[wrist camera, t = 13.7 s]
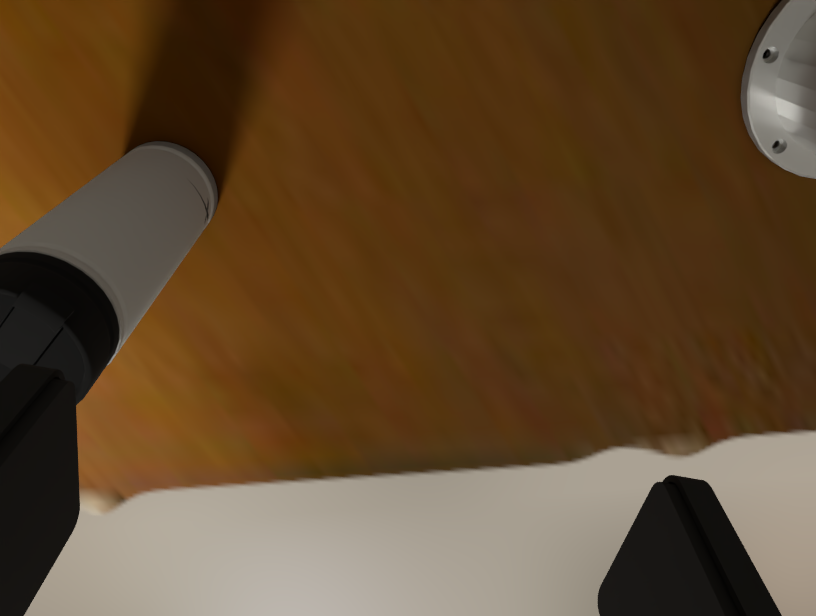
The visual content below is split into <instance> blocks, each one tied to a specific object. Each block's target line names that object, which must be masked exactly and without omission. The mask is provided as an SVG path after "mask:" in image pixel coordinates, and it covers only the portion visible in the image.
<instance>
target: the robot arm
mask: <svg viewBox="0 0 816 616" xmlns="http://www.w3.org/2000/svg"><path fill="white" fill-rule="evenodd" d="M766 49H767V54H766V55H765V56H764V57H763V53H764V52H765V50H766ZM741 105H742V114H743V119H744V122H745V125H746V128H747V131H748V133H749V136H750V137H751V139H752V140H753V142H754V143H755V145H756V147H757V148H758V150H760V151H761V152H762V153H763V154H764V155H765V156H766V157H767V158H768V159H769V160H770V161H772V162H773V163H775V164H777V165H778V166H780V167H781V168H783V169H785V170H787V171H790V172H792V173H794V174H797V175H799V176H803V177H808V178H814V179H816V0H782V1H781V2H780V3H779V4H778V6H777V7H776V8H775V9H774V10H773V11H772V13H771V14H770V15H769V17H768V19H767V20H766V22H765V23H764V25H763V26H762V28H761V30H760V31H759V33H758V34H757V37H756V39H755V41H754V43H753V46H752V48H751V50H750V52H749V55H748V58H747V62H746V65H745V69H744V73H743V77H742V88H741ZM775 142H776V143H775ZM774 143H775V144H774ZM773 144H774V145H773ZM772 145H773V146H772ZM79 510H80V500H79V473H78V447H77V420H76V394H75V385H74V383H73V382H71V381H65V377H64V374H63V372H62V371H61V370H58V369H52V368H46V367H41V366H35V365H29V364H23V363H22V364H18V365H17V366H16V367H15V368H13V369H12V370H11V372H10V373H9V374H8V375H7V376H6V377H5V378H4V379H3V380H2V381H1V382H0V616H24V614H25V612H26V611H27V609H28V607H29V606H30V604H31V602H32V600H33V599H34V597H35V595H36V594H37V592H38V590H39V589H40V587H41V585H42V583H43V582H44V580H45V578H46V576H47V575H48V573H49V571H50V569H51V568H52V566H53V565H54V563H55V561H56V559H57V558H58V556H59V554H60V552H61V551H62V549H63V547H64V546H65V544H66V542H67V541H68V539H69V537H70V535H71V534H72V532H73V530H74V528H75V525H76V523H77V519H78V515H79ZM598 609H599V614H600V616H782V615H781V613H780V612H779V610H778V608H777V606H776V604H775V603H774V601H773V599H772V597H771V596H770V593H769V592H768V590H767V588H766V586H765V584H764V583H763V581H762V579H761V577H760V575H759V573H758V572H757V570H756V568H755V566H754V564H753V563H752V561H751V559H750V557H749V555H748V554H747V552H746V550H745V548H744V546H743V544H742V542H741V541H740V539H739V537H738V536H737V533H736V532H735V530H734V528H733V526H732V524H731V523H730V521H729V519H728V517H727V515H726V513H725V512H724V510H723V508H722V506H721V504H720V502H719V501H718V499H717V497H716V495H715V493H714V491H713V490H712V488H711V487H710V485H709V484H708V483H707V482H705V481H704V480H698V479H691V478H686V477H681V476H675V475H670V476H668V477H666V478H665V479H664V480H663V482H657V483H655V484H654V485H653V487H652V488H651V490H650V492H649V494H648V496H647V498H646V500H645V502H644V504H643V506H642V508H641V509H640V511H639V513H638V515H637V518H636V519H635V521H634V523H633V525H632V527H631V529H630V531H629V532H628V534H627V536H626V538H625V540H624V542H623V544H622V546H621V548H620V550H619V552H618V554H617V556H616V558H615V560H614V561H613V563H612V565H611V567H610V569H609V571H608V573H607V575H606V577H605V579H604V580H603V582H602V584H601V587H600V589H599V593H598Z"/></svg>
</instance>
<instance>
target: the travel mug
mask: <svg viewBox="0 0 816 616" xmlns="http://www.w3.org/2000/svg"><path fill="white" fill-rule="evenodd" d="M217 201H218V193H217V186H216V183H215V179H214V177H213V175H212V173H211V171H210V170H209V168H208V167H207V166H206V164H205V163H204V162H203V161H202V160H201V159H200V158H199V157H198V156H197V155H196V154H194V153H193V152H191V151H190V150H188V149H187V148H184V147H182V146H180V145H178V144H174V143H170V142H162V141H155V142H148V143H145V144H142V145H139V146H137V147H136V148H134V149H133V150H131V151H130V152H128V153H127V154H126V155H124V156H123V157H122V158H120V159H119V160H118V161H116V162H115V163H114V164H112V165H111V166H110V167H108V168H107V169H106V170H104V171H103V172H102V173H100V174H99V175H98V176H96V177H95V178H94V179H92V180H91V181H90V182H88V183H87V184H86V185H84V186H83V187H82V188H80V189H79V190H78V191H76V192H75V193H74V194H72V195H71V196H70V197H68V198H67V199H66V200H64V201H63V202H62V203H60V204H59V205H58V206H56V207H55V208H54V209H52V210H51V211H50V212H48V213H47V214H46V215H44V216H43V217H42V218H40V219H39V220H38V221H36V222H35V223H34V224H32V225H31V226H30V227H28V228H27V229H26V230H24V231H23V232H22V233H20V234H19V235H18V236H16V237H15V238H14V239H12V240H11V241H10V242H8V243H7V244H6V245H4V246H3V247H2V248H0V382H1V381H2V380H3V379H4V378H5V377H6V376H7V375H8V374H9V373H10V372H11V370H12V369H13V368H15V367H16V366H17V365H18V364H22V363H23V364H29V365H35V366H41V367H46V368H52V369H58V370H61V371H62V372H63V374H64V377H65V381H71V382H73V383H74V385H75V394H76V405H77V404H78V403H79V402H80V401H81V400H82V399H83V398H84V397H85V396H86V394H87V393H88V391H89V390H90V389H91V387H92V386H93V384H94V383H95V381H96V380H97V379H98V377H99V376H100V374H101V373H102V371H103V370H104V369H105V367H106V366H107V365H108V364H109V363H110V362H111V361H112V360H113V358H114V357H115V355H116V354H117V352H118V351H119V350H120V348H121V347H122V346H123V344H124V343H125V341H126V340H127V338H128V337H129V336H130V334H131V333H132V331H133V330H134V328H135V327H136V326H137V324H138V323H139V321H140V320H141V319H142V317H143V316H144V314H145V313H146V311H147V310H148V309H149V307H150V306H151V304H152V303H153V301H154V300H155V299H156V297H157V296H158V294H159V293H160V291H161V290H162V289H163V287H164V286H165V284H166V283H167V282H168V280H169V279H170V277H171V276H172V274H173V273H174V272H175V270H176V269H177V267H178V266H179V264H180V263H181V262H182V260H183V259H184V257H185V256H186V254H187V253H188V252H189V250H190V249H191V247H192V246H193V245H194V243H195V242H196V240H197V239H198V237H199V236H200V235H201V233H202V232H203V230H204V229H205V227H206V226H207V225H208V223H209V222H210V220H211V219H212V217H213V216H214V213H215V210H216V208H217Z"/></svg>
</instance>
